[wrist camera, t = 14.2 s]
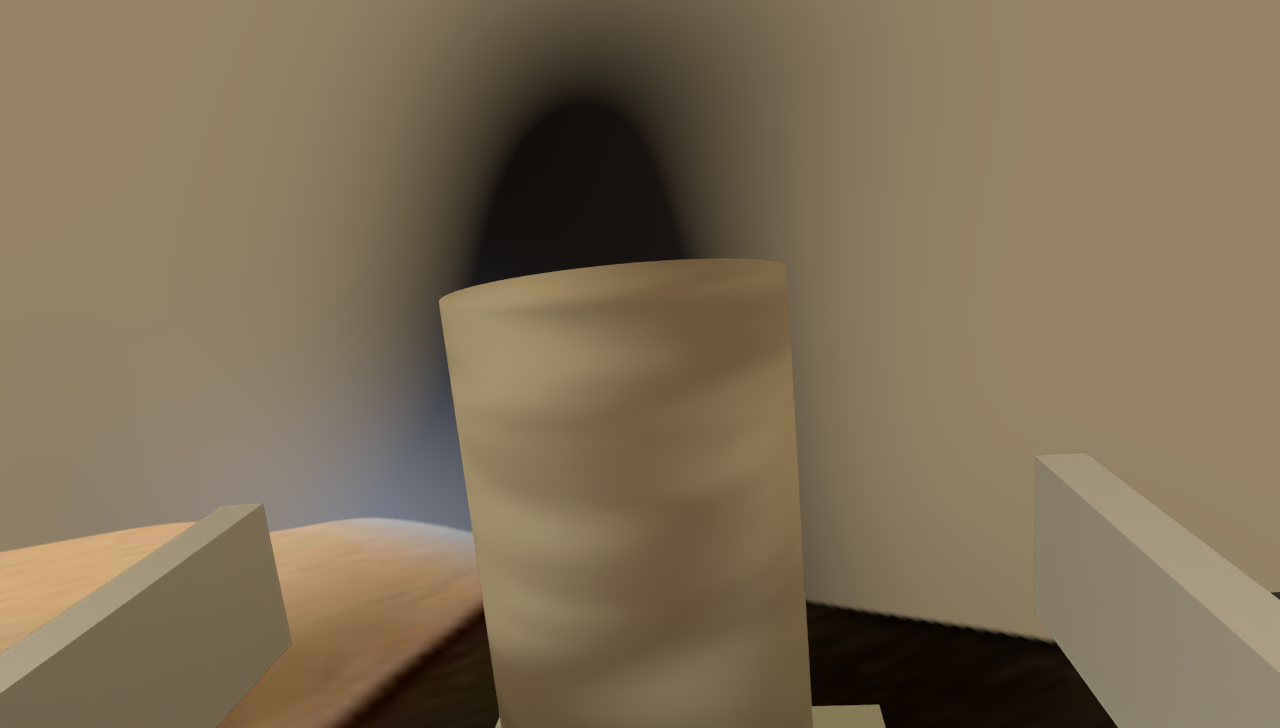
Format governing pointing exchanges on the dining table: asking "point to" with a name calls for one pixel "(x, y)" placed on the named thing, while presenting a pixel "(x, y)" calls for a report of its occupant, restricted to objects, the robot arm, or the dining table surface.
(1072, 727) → the dining table surface
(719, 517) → the birch canister
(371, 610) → the dining table surface
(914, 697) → the dining table surface
